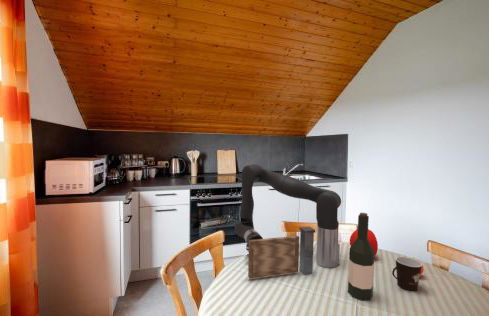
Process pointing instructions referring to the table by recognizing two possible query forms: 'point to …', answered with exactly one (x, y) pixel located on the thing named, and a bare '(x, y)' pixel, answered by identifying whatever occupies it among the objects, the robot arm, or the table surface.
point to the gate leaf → (273, 256)
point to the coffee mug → (407, 273)
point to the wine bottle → (361, 263)
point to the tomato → (371, 239)
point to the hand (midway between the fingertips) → (265, 254)
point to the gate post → (306, 250)
